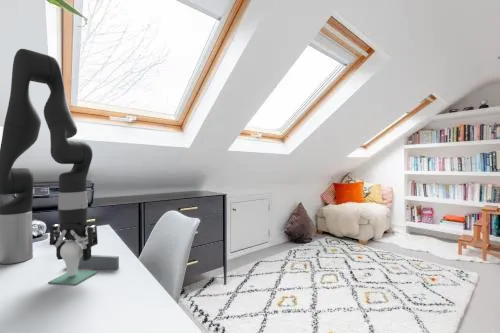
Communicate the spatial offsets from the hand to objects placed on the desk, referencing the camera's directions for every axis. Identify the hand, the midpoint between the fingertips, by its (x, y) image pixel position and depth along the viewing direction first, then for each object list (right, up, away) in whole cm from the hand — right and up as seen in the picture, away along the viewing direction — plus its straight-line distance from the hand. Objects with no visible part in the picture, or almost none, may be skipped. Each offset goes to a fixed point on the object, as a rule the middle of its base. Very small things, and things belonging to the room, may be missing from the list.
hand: (73, 259), depth 82 cm
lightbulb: (0, -5, 0) cm, 5 cm away
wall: (+1, -6, +8) cm, 10 cm away
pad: (0, -6, 0) cm, 6 cm away
